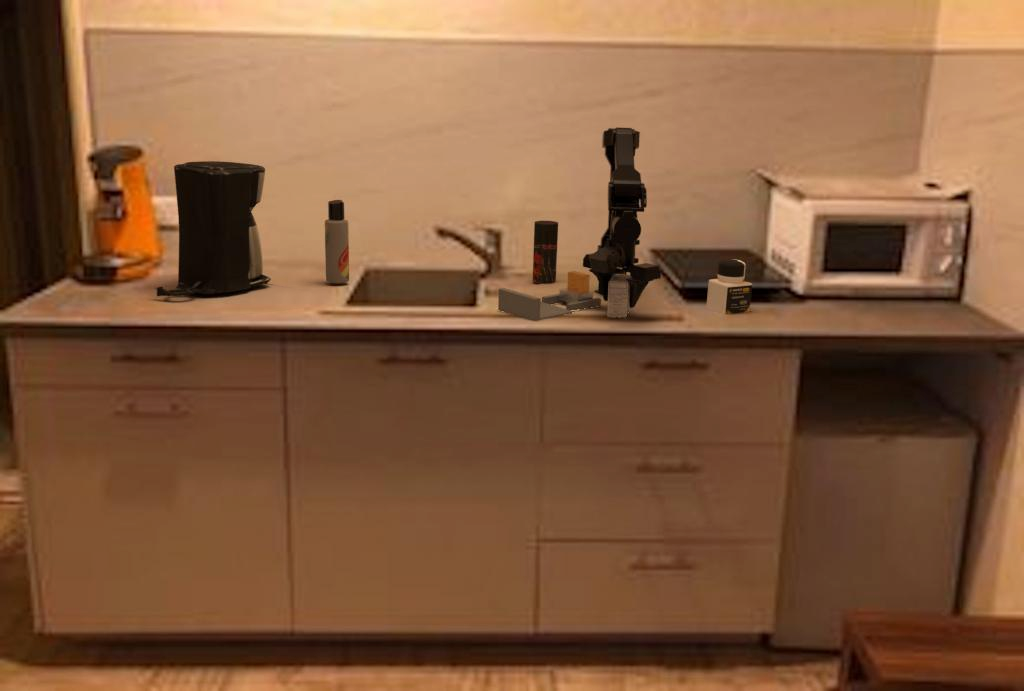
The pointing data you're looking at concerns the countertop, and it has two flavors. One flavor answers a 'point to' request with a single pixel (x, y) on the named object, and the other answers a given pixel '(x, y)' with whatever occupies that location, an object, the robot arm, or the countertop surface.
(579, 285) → the ram
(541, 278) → the deodorant
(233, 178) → the coffee maker
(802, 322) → the countertop surface
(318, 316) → the countertop surface
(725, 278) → the medicine bottle
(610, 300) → the medicine box
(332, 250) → the lotion bottle
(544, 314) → the press bed
